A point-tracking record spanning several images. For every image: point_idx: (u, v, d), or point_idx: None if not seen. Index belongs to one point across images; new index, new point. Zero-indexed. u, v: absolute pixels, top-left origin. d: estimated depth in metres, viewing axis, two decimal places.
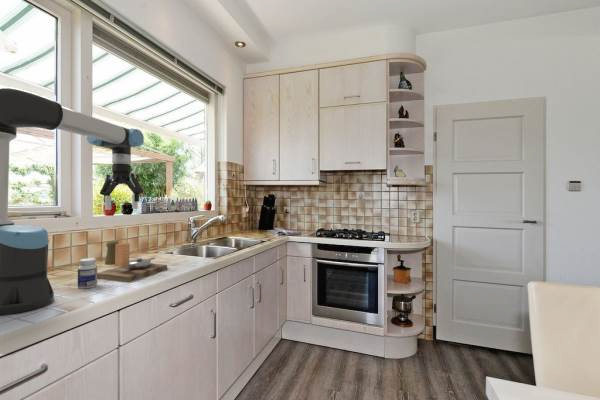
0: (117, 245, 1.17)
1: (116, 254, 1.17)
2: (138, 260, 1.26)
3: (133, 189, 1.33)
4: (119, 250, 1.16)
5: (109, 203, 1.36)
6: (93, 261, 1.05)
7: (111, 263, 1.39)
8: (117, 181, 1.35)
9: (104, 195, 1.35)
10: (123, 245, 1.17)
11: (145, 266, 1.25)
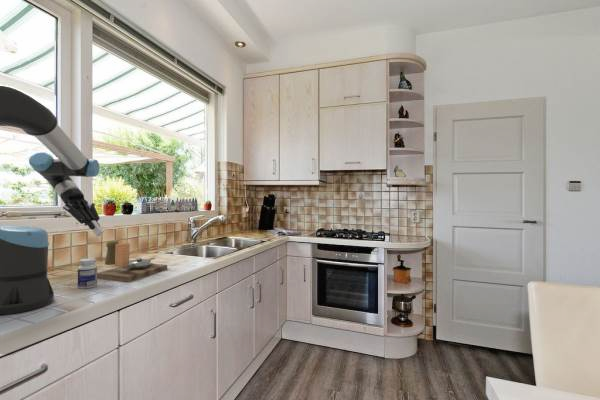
0: (117, 245, 1.17)
1: (116, 254, 1.17)
2: (138, 260, 1.26)
3: (94, 216, 1.25)
4: (119, 250, 1.16)
5: None
6: (93, 261, 1.05)
7: (111, 263, 1.39)
8: None
9: (91, 220, 1.22)
10: (123, 245, 1.17)
11: (145, 266, 1.25)
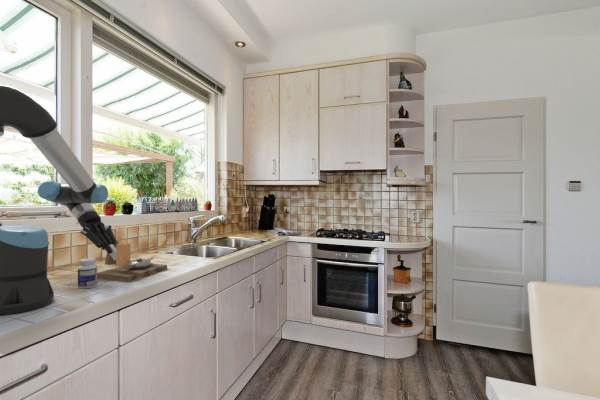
0: (118, 245, 1.17)
1: (117, 254, 1.17)
2: (138, 260, 1.26)
3: (111, 239, 1.22)
4: (121, 250, 1.16)
5: None
6: (93, 261, 1.05)
7: (111, 263, 1.39)
8: None
9: (108, 244, 1.19)
10: (124, 245, 1.17)
11: (146, 266, 1.25)
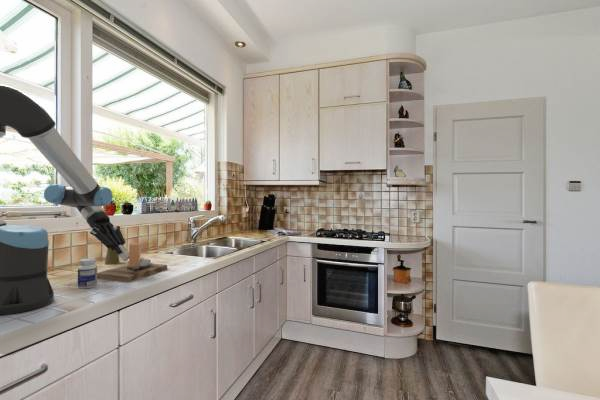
0: (132, 245, 1.17)
1: (130, 255, 1.17)
2: None
3: (120, 240, 1.22)
4: (135, 250, 1.17)
5: None
6: (93, 261, 1.05)
7: (111, 263, 1.39)
8: None
9: (118, 244, 1.19)
10: (139, 245, 1.18)
11: (149, 265, 1.27)
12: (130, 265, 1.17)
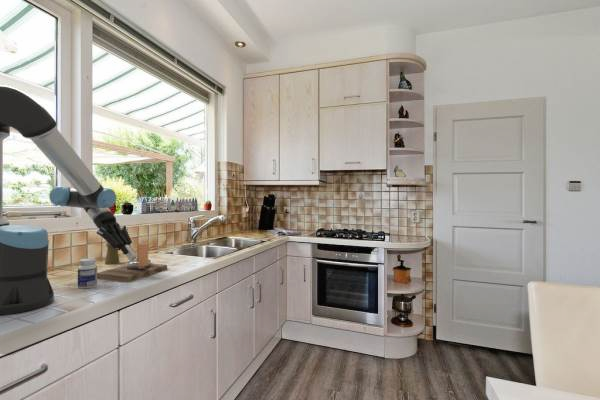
0: (141, 245, 1.18)
1: (140, 254, 1.18)
2: None
3: (126, 240, 1.22)
4: (144, 250, 1.19)
5: None
6: (93, 261, 1.05)
7: (111, 263, 1.39)
8: None
9: (124, 244, 1.19)
10: None
11: (150, 264, 1.29)
12: (139, 265, 1.18)
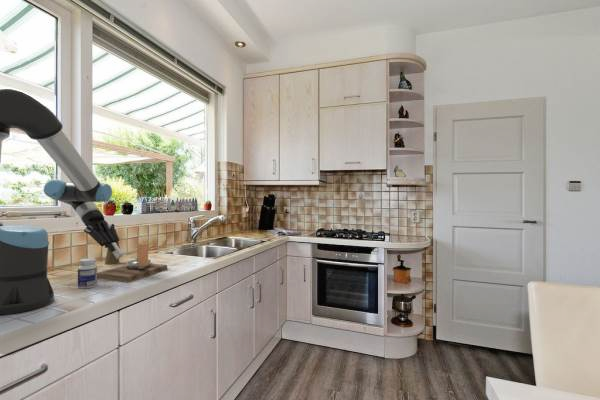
0: (141, 245, 1.18)
1: (140, 254, 1.18)
2: None
3: (114, 237, 1.24)
4: (144, 250, 1.19)
5: None
6: (93, 261, 1.05)
7: (111, 263, 1.39)
8: None
9: (111, 242, 1.21)
10: None
11: (150, 264, 1.29)
12: (139, 265, 1.18)
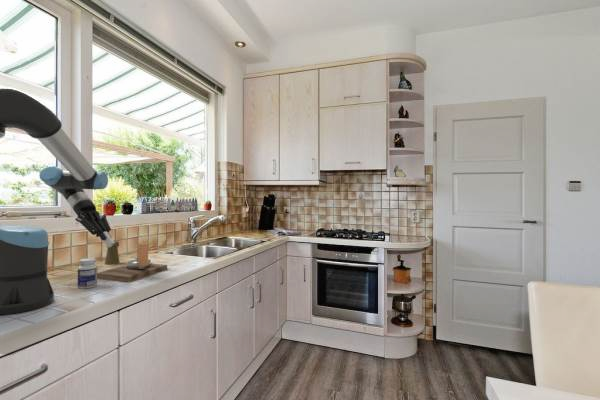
0: (141, 245, 1.18)
1: (140, 254, 1.18)
2: None
3: (105, 227, 1.26)
4: (144, 250, 1.19)
5: None
6: (93, 261, 1.05)
7: (111, 263, 1.39)
8: None
9: (102, 231, 1.23)
10: None
11: (150, 264, 1.29)
12: (139, 265, 1.18)
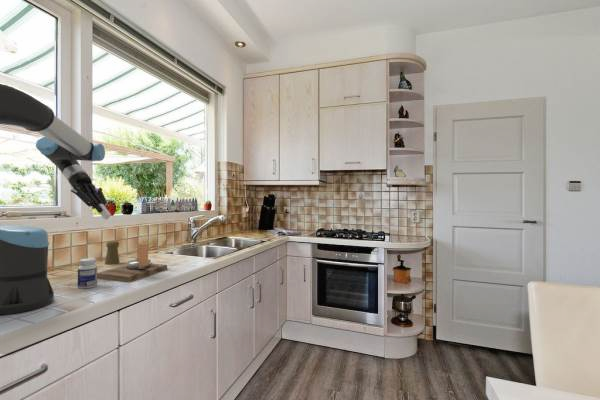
0: (141, 245, 1.18)
1: (140, 254, 1.18)
2: None
3: (101, 199, 1.26)
4: (144, 250, 1.19)
5: None
6: (93, 261, 1.05)
7: (111, 263, 1.39)
8: None
9: (98, 203, 1.23)
10: None
11: (150, 264, 1.29)
12: (139, 265, 1.18)
